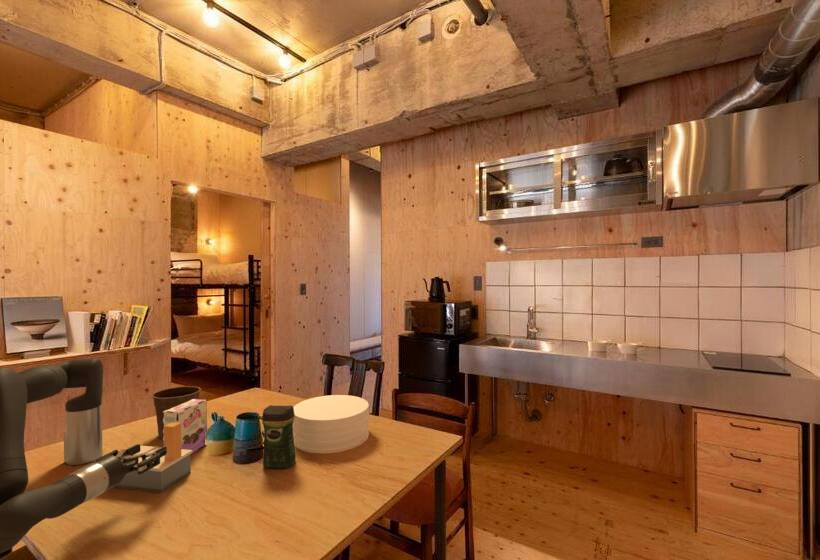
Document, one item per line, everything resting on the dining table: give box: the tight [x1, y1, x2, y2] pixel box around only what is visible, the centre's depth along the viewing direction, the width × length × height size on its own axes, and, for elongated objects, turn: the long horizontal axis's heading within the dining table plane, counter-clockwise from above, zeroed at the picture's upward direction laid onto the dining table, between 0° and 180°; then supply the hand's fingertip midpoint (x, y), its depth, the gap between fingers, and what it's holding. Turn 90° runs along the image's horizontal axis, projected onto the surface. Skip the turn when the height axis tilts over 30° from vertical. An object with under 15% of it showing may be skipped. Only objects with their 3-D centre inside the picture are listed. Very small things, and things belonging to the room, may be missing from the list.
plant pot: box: [151, 385, 202, 440], centre depth 150 cm, size 16×16×16 cm
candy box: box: [162, 398, 208, 455], centre depth 133 cm, size 14×6×16 cm, turn 168°
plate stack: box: [293, 394, 370, 454], centre depth 145 cm, size 28×28×12 cm
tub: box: [113, 454, 192, 493], centre depth 115 cm, size 18×11×6 cm, turn 79°
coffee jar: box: [261, 405, 296, 469], centre depth 124 cm, size 10×8×19 cm
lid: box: [133, 422, 194, 472], centre depth 115 cm, size 19×12×11 cm, turn 79°
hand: (152, 448), depth 107 cm, fingers open, 8 cm apart
